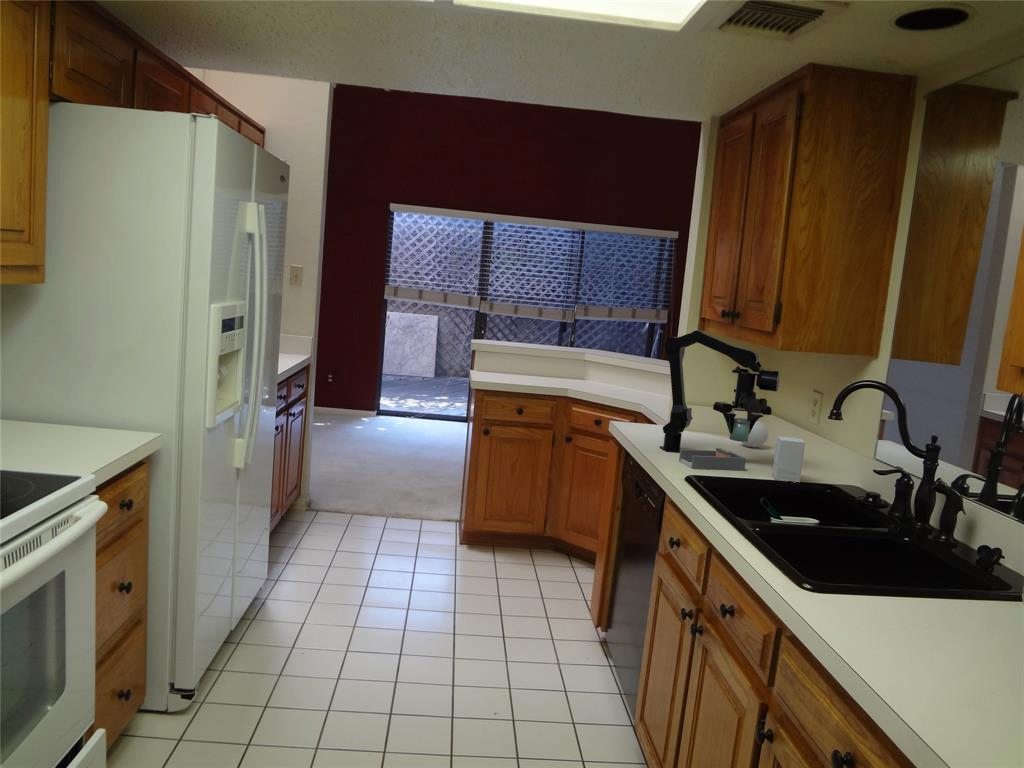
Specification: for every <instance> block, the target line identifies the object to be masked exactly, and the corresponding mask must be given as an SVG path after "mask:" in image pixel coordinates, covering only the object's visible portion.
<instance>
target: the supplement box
mask: <svg viewBox="0 0 1024 768" xmlns="http://www.w3.org/2000/svg"><path fill="white" fill-rule="evenodd" d="M805 445H806V441H804V440H803V439H801V438H798V437H787V436H780V435H779V436H777V437H776V443H775V450H774V460H773V466H772V472H771V473H772V474H771V476H773V478H774V479H775V480H777V481H780V482H781V481H783V482H788V481H798V482H799V483H800V482H801V476H802V468H803V463H804V461H803V460H804V455H805V454H804V453H805V447H806V446H805Z"/></svg>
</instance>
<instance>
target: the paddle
mask: <svg viewBox="0 0 1024 768" xmlns="http://www.w3.org/2000/svg"><path fill="white" fill-rule="evenodd" d="M715 451H716V457H731V454H732V453H730V452H728V451H729V450H725V449H723V448H720V447H715Z"/></svg>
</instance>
